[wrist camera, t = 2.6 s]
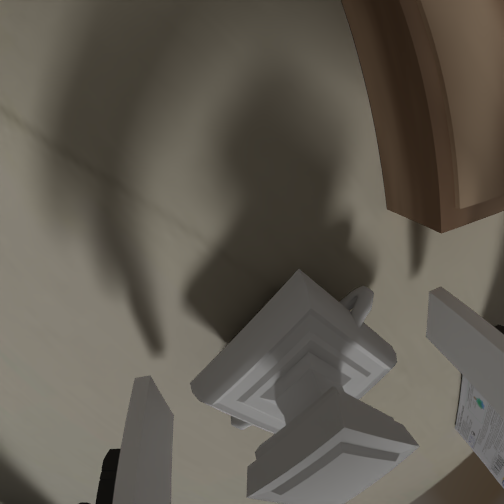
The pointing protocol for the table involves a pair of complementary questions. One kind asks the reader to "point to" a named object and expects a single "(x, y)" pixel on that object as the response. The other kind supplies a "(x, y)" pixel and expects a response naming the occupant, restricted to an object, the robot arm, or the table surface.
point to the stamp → (309, 395)
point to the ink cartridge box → (481, 429)
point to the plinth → (435, 104)
